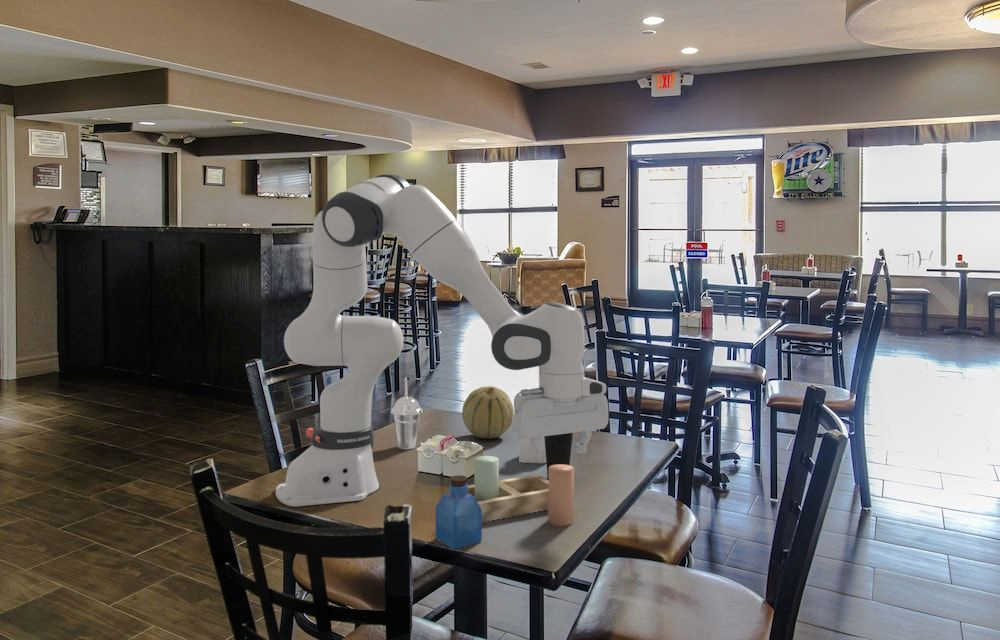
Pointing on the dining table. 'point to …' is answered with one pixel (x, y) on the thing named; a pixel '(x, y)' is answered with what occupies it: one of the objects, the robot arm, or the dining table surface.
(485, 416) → the cantaloupe
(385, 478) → the dining table surface
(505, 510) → the wooden tray
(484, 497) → the green peg
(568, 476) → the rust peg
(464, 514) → the perfume bottle
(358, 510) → the dining table surface
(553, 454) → the drinking cup
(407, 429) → the cup with straw
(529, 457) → the medicine bottle
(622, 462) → the dining table surface
